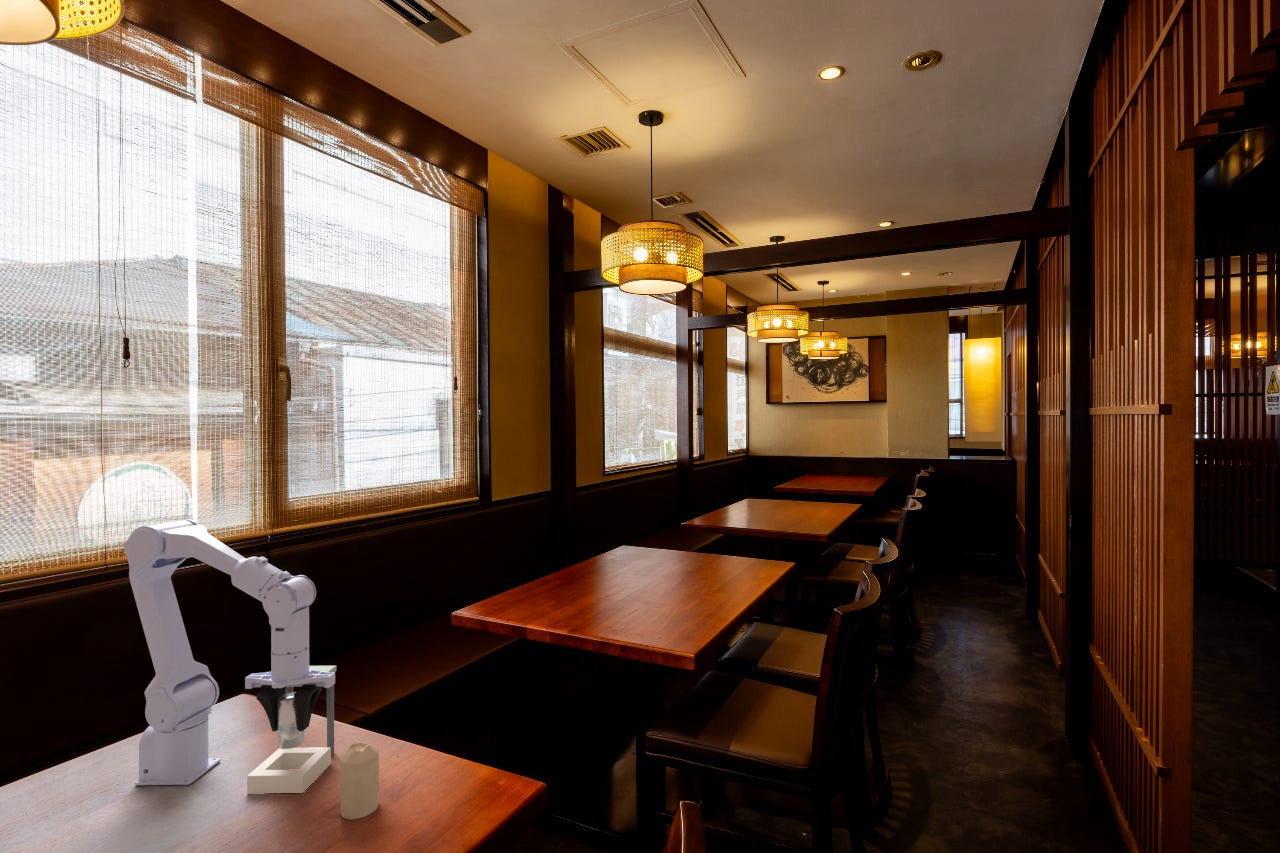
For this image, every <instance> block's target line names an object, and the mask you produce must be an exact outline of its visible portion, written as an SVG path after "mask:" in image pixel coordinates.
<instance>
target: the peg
mask: <svg viewBox="0 0 1280 853" xmlns="http://www.w3.org/2000/svg"><path fill="white" fill-rule="evenodd" d="M296 692H297V691H293V692H290V693H286V692H285V694H283V695H281V696H279V697H278V699H277V721H278V730H277V749H279V748H280V749H290V748H298V746H299V747H300V746H301V745H302V744H303V743H304V742H305V730H304V731H299V729H298V709H297V704H296V700H295V697H294V693H296Z"/></svg>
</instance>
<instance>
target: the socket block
mask: <svg viewBox="0 0 1280 853" xmlns="http://www.w3.org/2000/svg"><path fill="white" fill-rule="evenodd" d="M331 764H332V755H331V747H327V746H325V747H323V746H322V747H321V746H317V747H314V746H313V747H312V746H311V747H310V746H309V747H294V748H290V749H280V748H277V749H276V750H275V751H274V752H273V753H272V754H271V755H270V756H268V757H266V759H265V760H264V761H263V762H261V763H260V764H259V765H258V766H257V767H256V768H254V769H253V770H252V771H251V772H250V773H248V774H247V776H246V794H247V795H265V794H264V793H303V792H304V791H305V790H306V789H307V788H308V787H309V786H310V785H311V784H312V783H313V784H314V782H316V780H317V779H318V778H319V777H321V775H322V774H324V772H325V771H326V770H327V769H328V768H329V767H330V766H331ZM328 766H329V767H328ZM289 769H298V770H289ZM324 770H325V771H324ZM313 784H312V785H313ZM312 785H311V786H312ZM309 788H310V787H309ZM309 788H308V789H309ZM308 789H307V790H308ZM307 790H306V791H307ZM306 791H305V792H306ZM305 792H304V793H305ZM304 793H303V794H304Z"/></svg>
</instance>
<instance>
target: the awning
mask: <svg viewBox="0 0 1280 853" xmlns="http://www.w3.org/2000/svg"><path fill="white" fill-rule="evenodd" d="M309 669H310V670H316V671H322V672H335V673H336V672H337V665H309ZM290 692H294V687H286V691H285V694H286V693H290ZM326 747H331V756H333V755H335V684H334V685H333V686H331V687H330V688H326Z"/></svg>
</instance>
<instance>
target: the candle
mask: <svg viewBox="0 0 1280 853" xmlns="http://www.w3.org/2000/svg"><path fill="white" fill-rule="evenodd" d="M379 759H380V758H379V749H378V748H377V747H376V746H374V745H372V744H370V743H364V742H357V743H351V744H350V745H349V747H348V748H347V749H346V750H345V751H344V752H343V754H342V755H341V756H340V759H339V761H340V762H339V764H340V765H339V768H340V769H339V770H340V771H339V772H340V775H339V776H340V781H339V782H340V783H339V786H340V788H339V790H340V792H339V796H340V797H339V798H340V800H339V803H340V814H341V817H342V818H343V819H345V820H359V819H362V818H365V817H368V816H370V815H372V814H373V813H374V812H376V810H377V809H378V807H379V805H380V804H379V802H380V801H379V800H380V797H379V795H380V790H379V788H380V785H379V784H380V782H379V780H380V779H379V776H380V775H379V774H380V773H379V772H380V769H379V768H380V766H379V763H380V762H379V761H380V760H379Z"/></svg>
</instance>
